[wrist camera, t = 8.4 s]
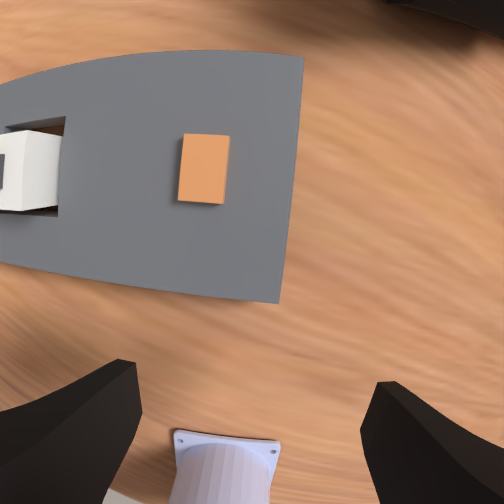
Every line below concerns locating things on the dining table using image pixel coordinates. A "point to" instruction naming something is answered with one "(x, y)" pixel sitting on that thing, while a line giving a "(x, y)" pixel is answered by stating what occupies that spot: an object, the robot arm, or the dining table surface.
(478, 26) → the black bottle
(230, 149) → the grey square-hole board
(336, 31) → the dining table surface
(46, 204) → the block
